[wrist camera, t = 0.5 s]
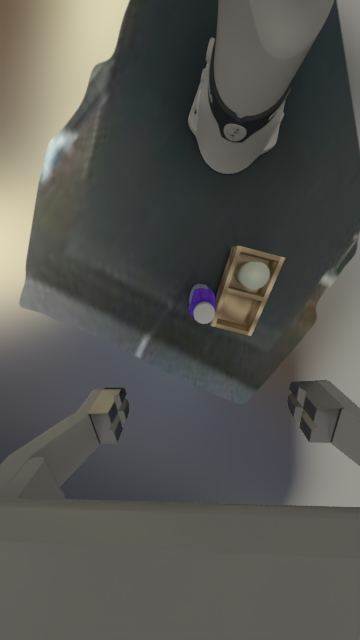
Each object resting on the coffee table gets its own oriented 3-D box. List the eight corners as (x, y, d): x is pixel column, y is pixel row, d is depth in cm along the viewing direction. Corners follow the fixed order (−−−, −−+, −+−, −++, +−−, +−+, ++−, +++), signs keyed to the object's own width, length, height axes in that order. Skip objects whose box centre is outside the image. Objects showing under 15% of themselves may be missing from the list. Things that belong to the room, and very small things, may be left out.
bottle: (192, 280, 47) (193, 292, 31) (213, 284, 47) (224, 299, 31) (187, 305, 50) (185, 328, 33) (206, 309, 50) (213, 335, 33)
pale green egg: (239, 258, 44) (247, 258, 37) (261, 264, 44) (274, 265, 37) (231, 281, 46) (237, 286, 39) (252, 287, 46) (263, 292, 39)
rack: (232, 246, 44) (237, 245, 38) (273, 257, 44) (285, 257, 38) (208, 318, 51) (211, 326, 45) (244, 327, 51) (251, 336, 45)
